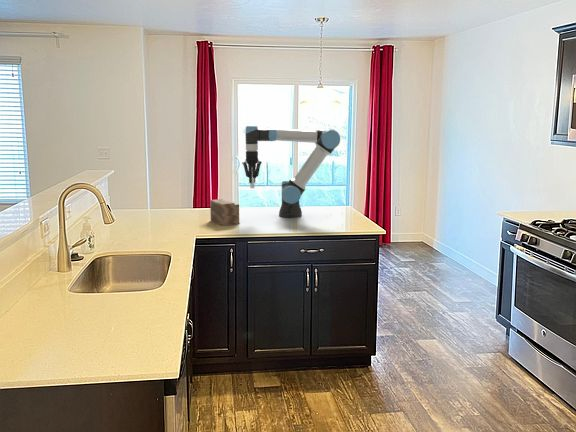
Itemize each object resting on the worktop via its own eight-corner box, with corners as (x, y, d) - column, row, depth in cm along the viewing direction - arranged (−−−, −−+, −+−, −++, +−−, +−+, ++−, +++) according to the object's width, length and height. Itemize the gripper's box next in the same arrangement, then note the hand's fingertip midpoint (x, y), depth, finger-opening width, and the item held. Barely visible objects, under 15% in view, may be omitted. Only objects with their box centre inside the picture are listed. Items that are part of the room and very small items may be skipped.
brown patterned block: (226, 219, 372) (226, 198, 370) (239, 223, 357) (239, 202, 355) (210, 220, 366) (210, 200, 364) (223, 225, 351) (222, 204, 349)
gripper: (258, 149, 370) (258, 186, 375) (239, 150, 364) (240, 188, 368) (263, 150, 364) (264, 188, 368) (245, 151, 357) (245, 189, 362)
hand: (252, 188), depth 368 cm, fingers closed
